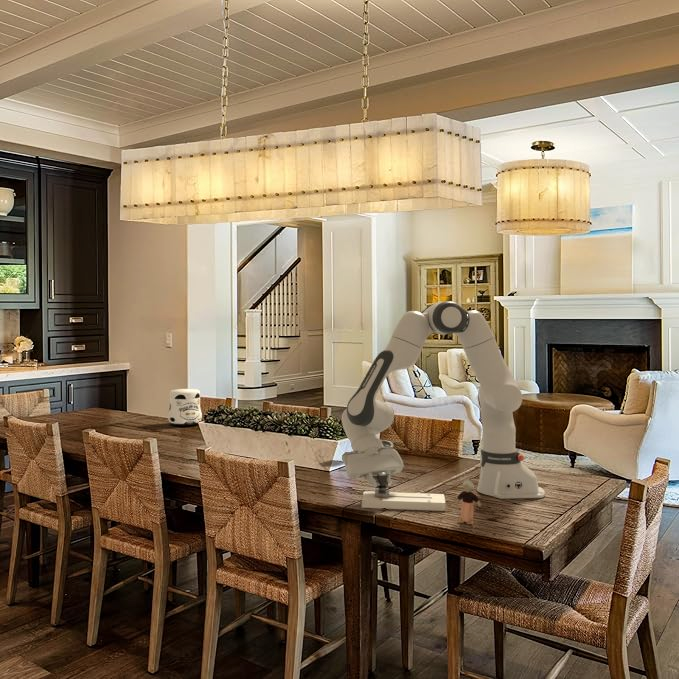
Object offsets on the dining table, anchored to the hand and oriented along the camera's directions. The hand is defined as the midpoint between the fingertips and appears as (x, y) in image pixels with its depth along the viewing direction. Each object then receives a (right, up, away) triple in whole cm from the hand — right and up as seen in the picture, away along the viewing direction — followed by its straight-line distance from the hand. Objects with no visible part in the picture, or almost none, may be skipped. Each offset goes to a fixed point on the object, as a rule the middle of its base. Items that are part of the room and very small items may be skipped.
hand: (383, 486), depth 221 cm
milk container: (-95, +2, +142) cm, 171 cm away
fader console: (+6, -6, 0) cm, 9 cm away
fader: (0, -3, +1) cm, 3 cm away
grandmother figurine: (+24, -7, -18) cm, 30 cm away
